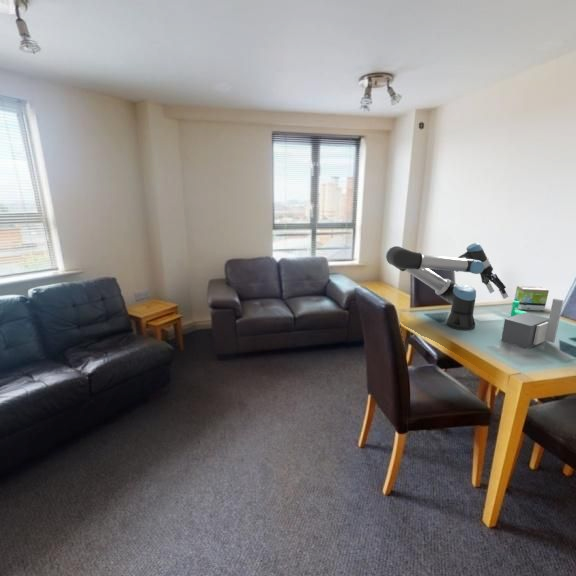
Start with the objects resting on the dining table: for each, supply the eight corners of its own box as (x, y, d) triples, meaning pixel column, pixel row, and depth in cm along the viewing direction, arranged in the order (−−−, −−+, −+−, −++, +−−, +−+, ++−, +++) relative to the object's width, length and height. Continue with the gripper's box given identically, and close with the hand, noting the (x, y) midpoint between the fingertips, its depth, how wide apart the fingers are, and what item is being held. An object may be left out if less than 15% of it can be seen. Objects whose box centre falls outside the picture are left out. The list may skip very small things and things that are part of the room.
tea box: (520, 310, 217) (524, 289, 213) (512, 305, 226) (516, 285, 223) (545, 311, 214) (549, 289, 210) (536, 306, 224) (540, 286, 220)
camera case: (527, 348, 158) (531, 326, 155) (501, 340, 168) (504, 318, 165) (546, 340, 168) (550, 318, 165) (520, 332, 178) (524, 312, 175)
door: (544, 347, 156) (553, 303, 150) (533, 344, 160) (541, 301, 154) (554, 343, 161) (563, 300, 155) (543, 339, 165) (551, 298, 159)
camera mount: (525, 320, 197) (527, 304, 194) (510, 318, 201) (512, 302, 199) (525, 315, 206) (528, 300, 204) (511, 313, 211) (513, 298, 208)
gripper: (502, 266, 181) (518, 296, 185) (477, 260, 205) (492, 287, 209) (490, 273, 182) (506, 303, 186) (467, 266, 206) (481, 293, 210)
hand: (498, 294), depth 198 cm, fingers open, 13 cm apart
